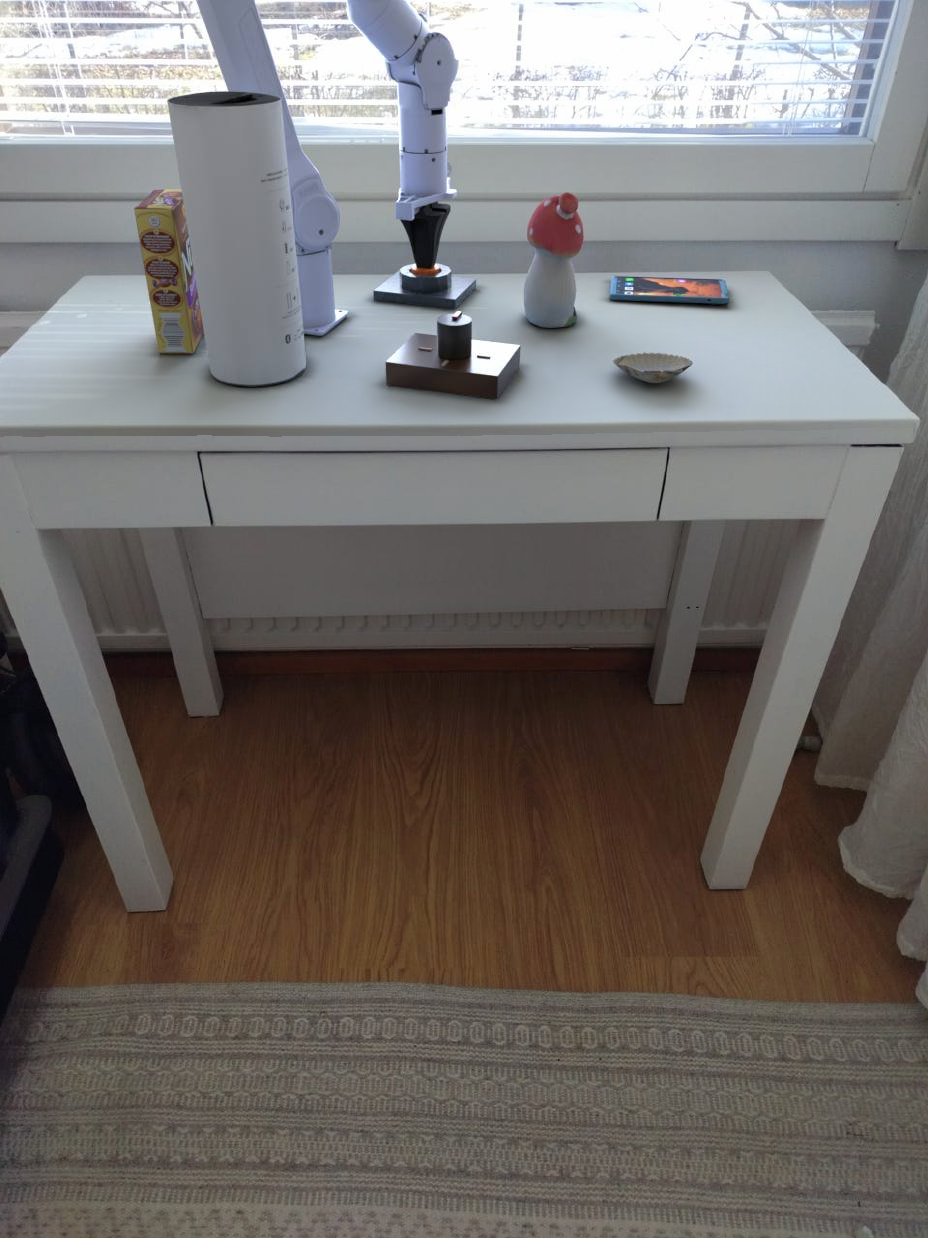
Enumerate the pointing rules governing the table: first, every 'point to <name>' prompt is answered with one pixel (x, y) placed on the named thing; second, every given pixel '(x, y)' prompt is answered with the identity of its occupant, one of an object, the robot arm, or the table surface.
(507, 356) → the dial panel
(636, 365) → the seashell
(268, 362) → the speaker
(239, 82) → the robot arm
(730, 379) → the table surface
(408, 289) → the switch base
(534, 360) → the table surface
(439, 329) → the dial
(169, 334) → the candy box
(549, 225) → the decorative ornament
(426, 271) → the switch
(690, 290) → the smartphone
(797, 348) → the table surface
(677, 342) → the table surface
